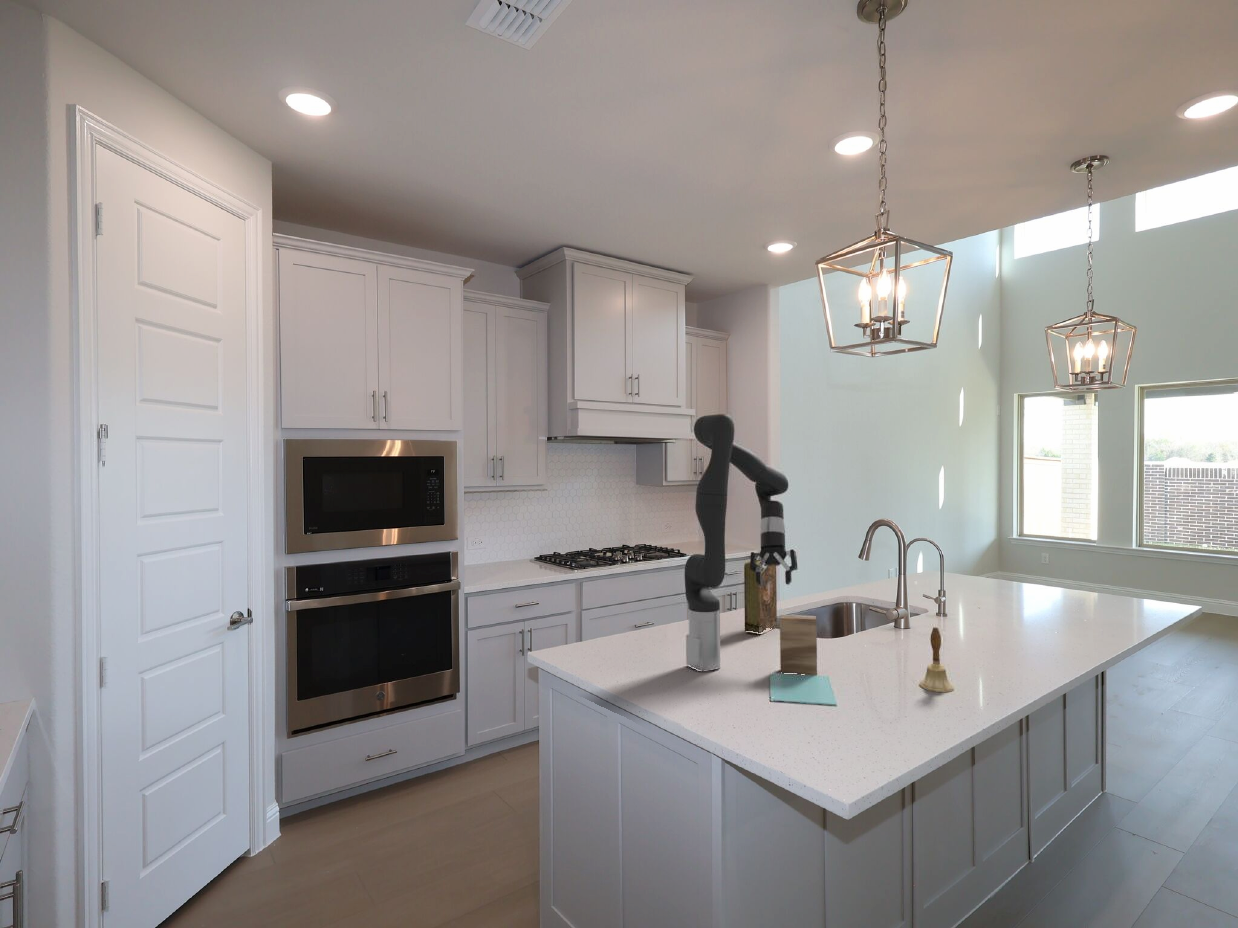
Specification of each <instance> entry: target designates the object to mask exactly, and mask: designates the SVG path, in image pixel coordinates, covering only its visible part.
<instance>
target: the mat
mask: <svg viewBox="0 0 1238 928" xmlns="http://www.w3.org/2000/svg"><path fill="white" fill-rule="evenodd" d="M771 673H772V674H770V673H769V690H770V691H769V693H770V694H769V695H770V696H769V697H771V698H770V700H773V701H772V702H774V701H786V702H785V703H788V702H800V703H799V704H803V703H806V704H805V705H807V704H808V705H818V704H822V706H836V707H837V706H838V705H837V701H836V700H837V699H836V697H835V693H834V691H833V687H832V683H831V681H830V676H829V675H819V674H817V675H801V674H784V673H781V672H771ZM773 673H774V674H773ZM771 691H772V692H771ZM772 697H774V698H772Z"/></svg>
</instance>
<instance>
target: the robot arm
mask: <svg viewBox="0 0 1238 928" xmlns="http://www.w3.org/2000/svg"><path fill="white" fill-rule="evenodd" d="M735 431H736V430H735V423H734V420H733V419H732V417H731V416H730V415H728V414H727V413H726V414H725V413H719V414H717V413H716V414H709V415H703V416H700V417H699V418H697V419H696V421H695V423H694V425H693V432H694V436H695V438H696V440H697V441H698V442H699V443H700V444H702V446H705V447H707V448H708V449H709V450H711V454H710V460H709V462H708V465H707V467H706V468H705V470H704V473H703V474H702V476H701V478H700V480H699V482H698V483H697V487H696V492H695V493H696V494H695V505H694V506H695V507H694V508H695V514H696V518H697V521H698V523H699V526H700V528H701V531H702V533H703V538H704V554H702V553H701V554H700V553H697V554H696V553H695V554H694V553H693V554H692V555H690V556H689V557H688V558H687V560H686V563H685V565H684V588H685V598H686V601H687V604H688V634H686V635H685V648H686V649H685V655H686V657H685V658H686V659H685V661H686V663H685V665H686V664H687V665H690V666H691V667H694V668H696V669H698V670H711V669H716V668H719V667H720V668H721V607H720V606H721V604H720V600H719V599H718V597H716V595H714V594H713V593H712V591H711V589H716V588H718V587H720V586H721V584H722V583H723V581H724V580H725V575H726V543H725V542H726V541H725V540H726V538H725V537H726V518H727V508H728V507H727V506H728V490H729V489H728V484H729V474H730V464H732V465H733V466H734V467H735V468H736V469H738V470H739V472H741V474H743V475H744V476H745V477H746V478H747V479H748V480H750V481H751V482H753V483H755V484H754V489H755V493H756V496H757V498H758V504H759V505H760V527H759V528H760V532H759V533H760V552H754V551H751V552H750V559H749V560H750V561H749V562H750V570H751V571H752V572H755V573H756V582H757V583H758V585H759V586H762V574H761V573H762V572H763V570H764V569H765V568H766V567H767V566H773V565H776V567H777V566H780V565H781V566H782V567H783V568H784V570H785V572H784V573H785V574H784V576H785V584H786V585H788V586H789V585H791V583H792V580H793V579H792V572H793V571H797V570H798V569H799V568H798V567H799V566H798V560H797V558H798V556H797V552H796V551H795V550H794V549H793V548H792V549H790V550H786V528H785V527H786V526H785V519H784V517H785V516H784V504H783V503H782V502H781V501H778V500H772V497H774V496H779V495H782V494H785V493H786V492H787V491H788V489H789V480H788V479H787V477H786V474H784V473H782V471H780V470H778V469H776V468H774V467H773V466H770V465H768V464H766V463H765V462H764V461H763V460H762V459H760V457H759V456H758V455H756V454H755V453H754V452H752V451H751V450H750V449H748V448H746V447H744V446H742V445H740V444H737V443H735V442H734V440H735ZM786 557H788V558H790V564H791V565H788V564H787V562H786V561H785V559H786ZM758 559H762V560H761V562H760V563H759V566H758V567H757V568H756V561H757V560H758Z"/></svg>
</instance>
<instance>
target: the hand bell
mask: <svg viewBox="0 0 1238 928" xmlns="http://www.w3.org/2000/svg"><path fill="white" fill-rule="evenodd" d="M941 645H942V637H941V632H940V630H939V628H938V627H936V626H935V627H932V631H931V633H930V646H931V649H932V664H928V665H927V667H926V672H925V676H924V678H923V680H921V681H920V682H919V687H920V688H922V689H924V690H926V691H930V692H934V693H935V692H936V693H951V692H953V691H954V689H955V688H954V686H953V685H952V684H951V683H950V681H949V679H948V676H947V669H946V667H945V666H943V665H941V659H940V650H941ZM950 691H951V692H950Z"/></svg>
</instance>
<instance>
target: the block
mask: <svg viewBox="0 0 1238 928" xmlns="http://www.w3.org/2000/svg"><path fill="white" fill-rule="evenodd" d="M817 627H818V626H817V616H815V615H799V614H798V615H797V614H795V615H793V614H779V637H780V638H779V648H780V649H779V652H780V653H779V654H780V656H779V658H780V659H779V660H780V661H779V662H780V663H779V664H780V666H779V667H780V669H781V670H780V673H781V672H782V673H797V674H805V675H818V648H817V647H818V637H817V636H818V635H817V632H818V631H817Z"/></svg>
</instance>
